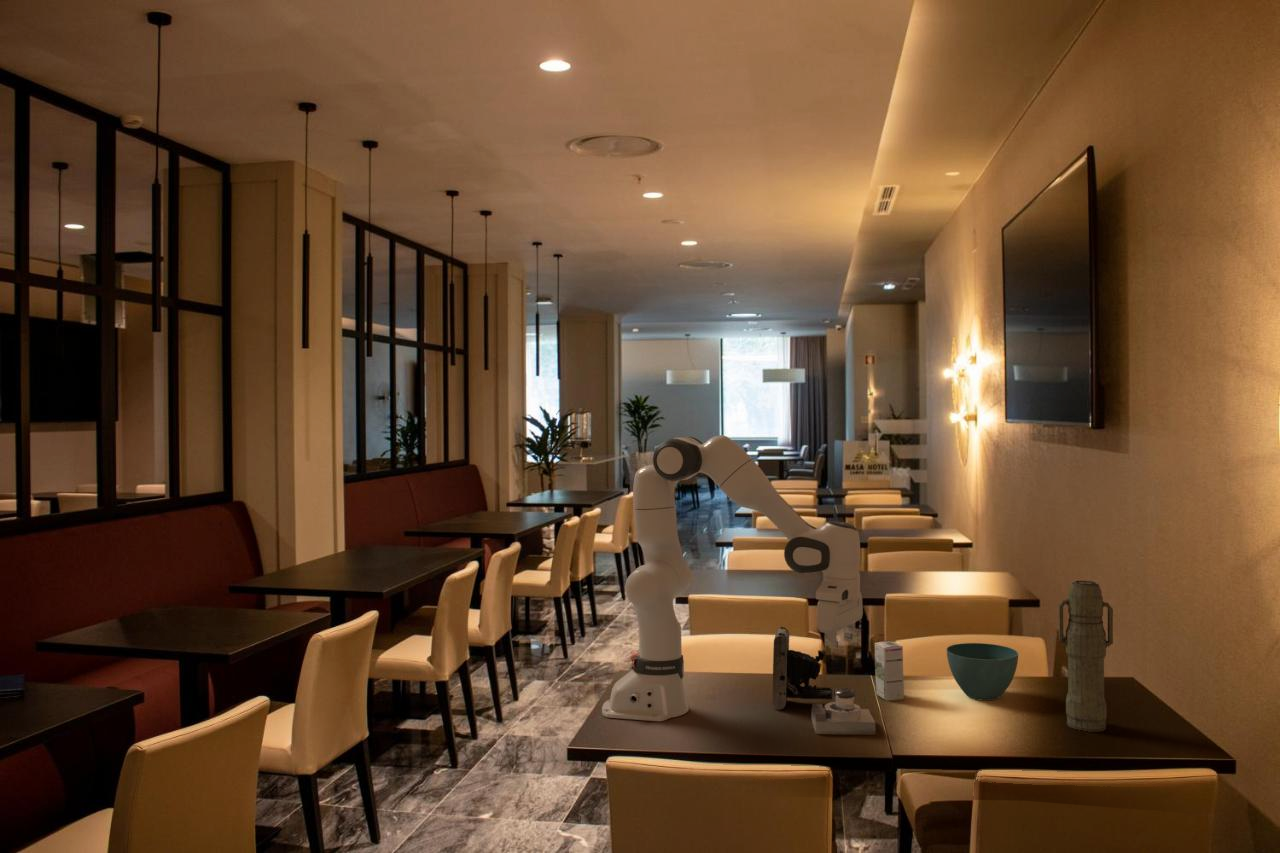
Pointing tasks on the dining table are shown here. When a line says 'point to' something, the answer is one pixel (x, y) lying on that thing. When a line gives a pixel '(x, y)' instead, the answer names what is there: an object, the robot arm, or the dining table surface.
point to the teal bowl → (982, 668)
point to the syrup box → (889, 670)
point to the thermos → (1086, 655)
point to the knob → (844, 699)
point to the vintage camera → (794, 673)
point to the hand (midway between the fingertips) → (841, 644)
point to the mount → (842, 720)
